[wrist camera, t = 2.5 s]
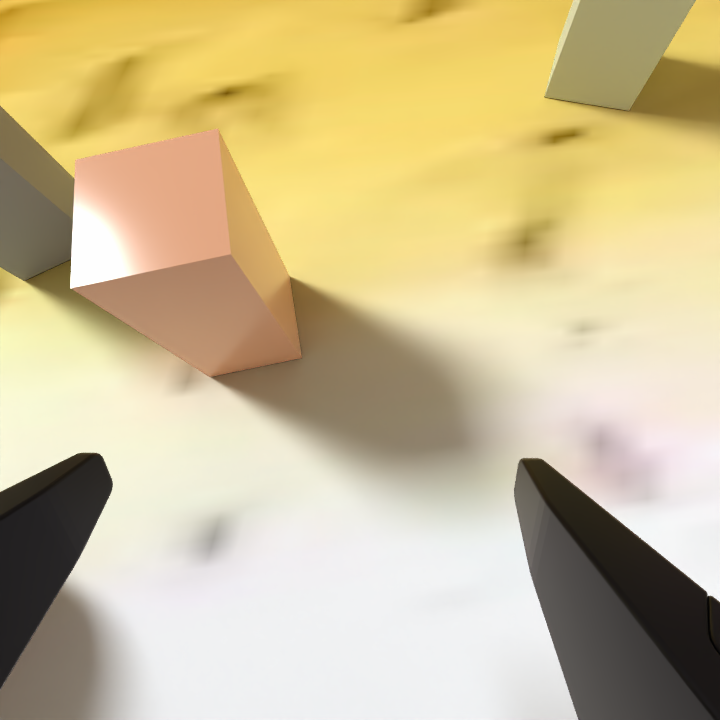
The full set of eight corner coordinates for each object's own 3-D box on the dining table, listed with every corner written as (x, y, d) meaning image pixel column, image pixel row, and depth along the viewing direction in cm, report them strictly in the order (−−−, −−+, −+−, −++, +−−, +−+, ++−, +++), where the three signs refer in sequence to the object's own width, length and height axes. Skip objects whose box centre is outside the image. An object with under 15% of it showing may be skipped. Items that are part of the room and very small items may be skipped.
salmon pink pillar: (289, 275, 26) (218, 128, 16) (302, 358, 24) (230, 254, 14) (203, 294, 26) (75, 159, 16) (209, 376, 24) (70, 288, 14)
